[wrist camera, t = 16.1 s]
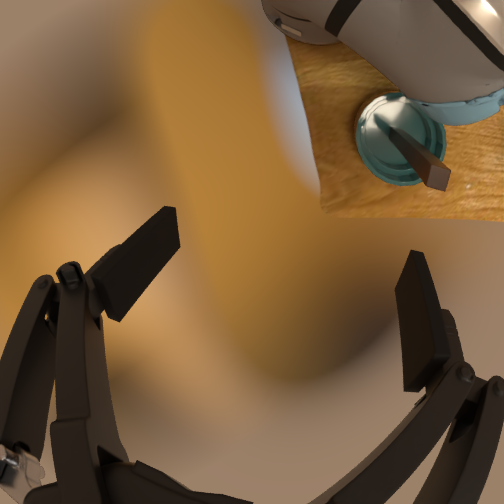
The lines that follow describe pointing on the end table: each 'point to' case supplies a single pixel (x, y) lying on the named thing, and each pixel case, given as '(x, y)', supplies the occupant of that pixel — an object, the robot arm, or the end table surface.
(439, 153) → the bowl
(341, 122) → the end table surface
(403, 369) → the robot arm
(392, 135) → the stick
